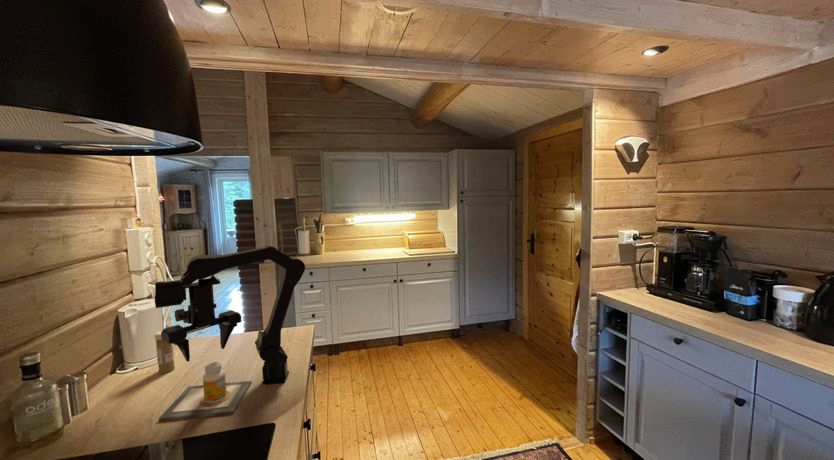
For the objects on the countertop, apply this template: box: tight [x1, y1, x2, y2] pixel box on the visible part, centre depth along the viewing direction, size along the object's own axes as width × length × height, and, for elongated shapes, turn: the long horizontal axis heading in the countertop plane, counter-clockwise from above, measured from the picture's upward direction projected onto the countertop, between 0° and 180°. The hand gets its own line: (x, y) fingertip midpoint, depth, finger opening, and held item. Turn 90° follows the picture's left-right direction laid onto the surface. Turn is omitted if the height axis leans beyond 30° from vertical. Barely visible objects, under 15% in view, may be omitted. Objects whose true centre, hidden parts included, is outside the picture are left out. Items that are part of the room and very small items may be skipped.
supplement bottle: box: [202, 361, 227, 403], centre depth 96 cm, size 5×5×10 cm
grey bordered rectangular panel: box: [158, 380, 253, 422], centre depth 97 cm, size 18×15×1 cm
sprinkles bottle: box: [154, 330, 176, 374], centre depth 113 cm, size 5×5×13 cm
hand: (205, 354), depth 97 cm, fingers open, 9 cm apart
